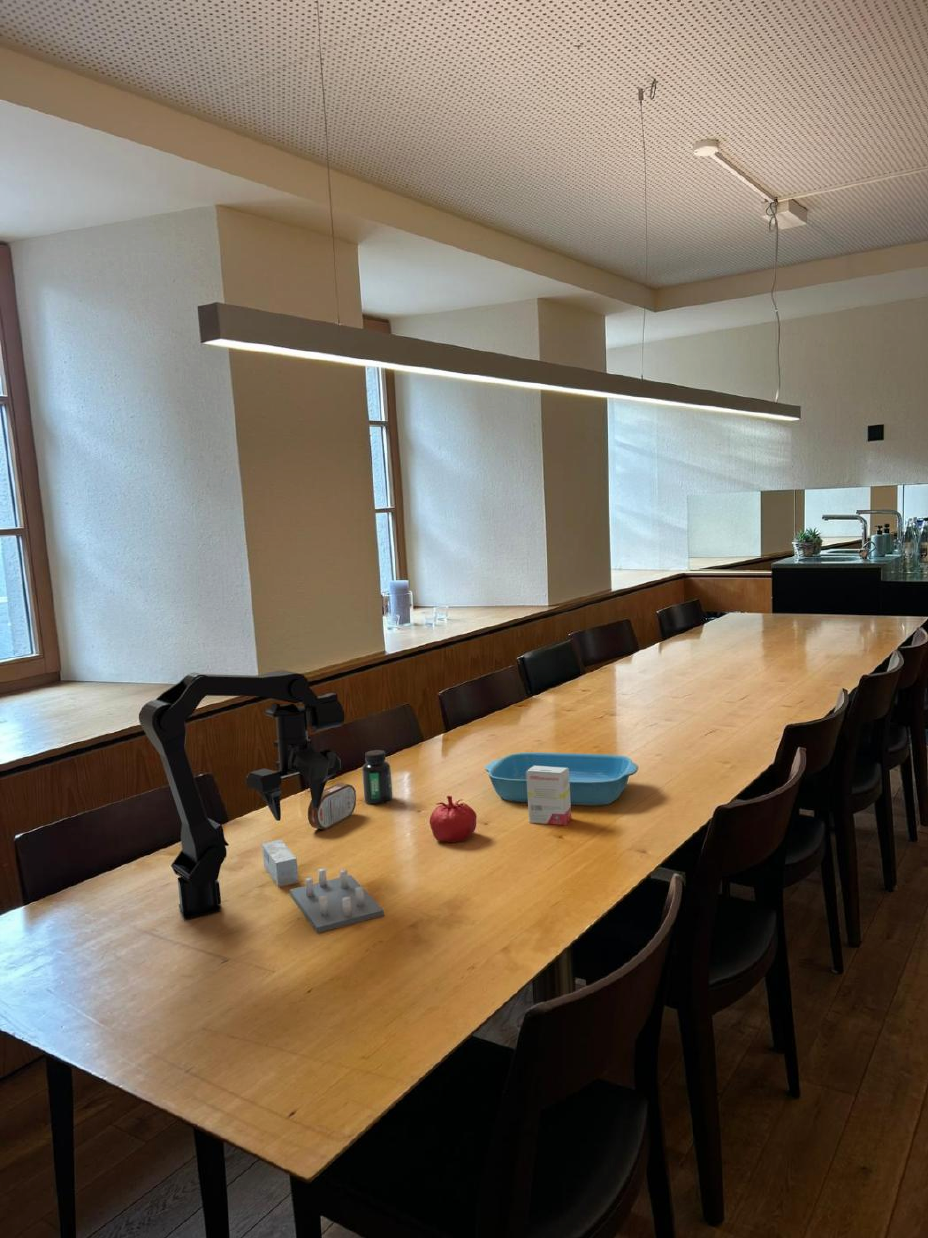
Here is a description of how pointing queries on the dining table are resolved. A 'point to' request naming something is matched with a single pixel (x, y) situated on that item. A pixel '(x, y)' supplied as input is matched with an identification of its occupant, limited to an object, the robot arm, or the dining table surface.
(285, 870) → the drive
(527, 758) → the casserole dish
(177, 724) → the robot arm
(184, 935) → the dining table surface
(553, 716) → the dining table surface
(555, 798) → the ink box
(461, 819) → the red tomato
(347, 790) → the tin
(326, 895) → the grey pegged platform
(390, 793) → the supplement bottle
